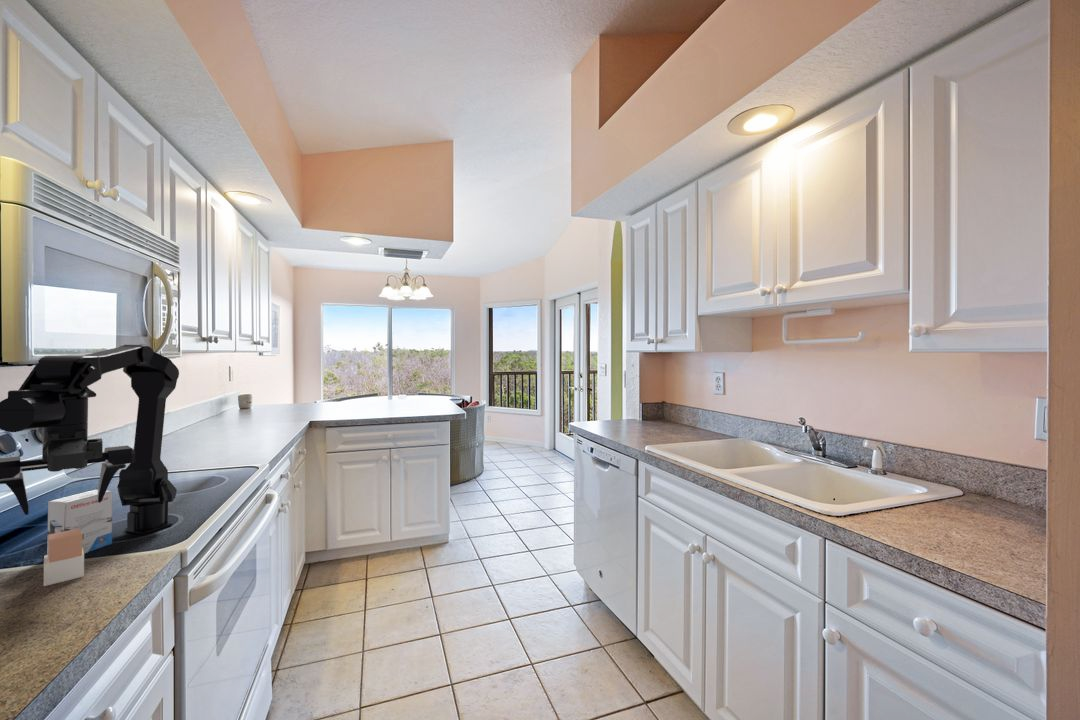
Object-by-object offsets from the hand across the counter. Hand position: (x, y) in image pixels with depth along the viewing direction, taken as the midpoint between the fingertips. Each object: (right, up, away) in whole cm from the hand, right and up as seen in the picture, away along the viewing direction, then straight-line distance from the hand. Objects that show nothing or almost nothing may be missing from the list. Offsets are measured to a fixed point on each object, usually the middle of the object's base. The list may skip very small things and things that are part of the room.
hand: (64, 507), depth 82 cm
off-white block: (0, -13, 0) cm, 13 cm away
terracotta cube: (0, -9, 0) cm, 9 cm away
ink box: (-8, -13, +11) cm, 19 cm away
